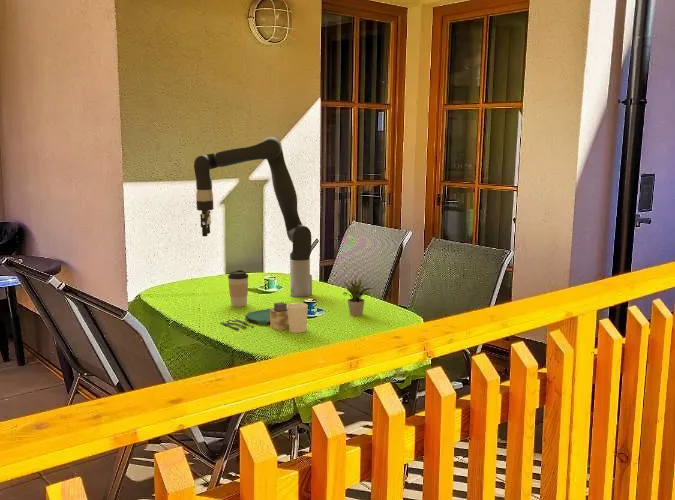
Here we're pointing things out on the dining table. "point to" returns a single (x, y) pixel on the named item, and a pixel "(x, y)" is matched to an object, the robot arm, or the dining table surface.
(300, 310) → the tan cylinder
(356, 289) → the house plant
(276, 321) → the button box
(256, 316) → the cutlery set
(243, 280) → the coffee cup
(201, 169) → the robot arm
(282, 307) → the button cap
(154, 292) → the dining table surface
